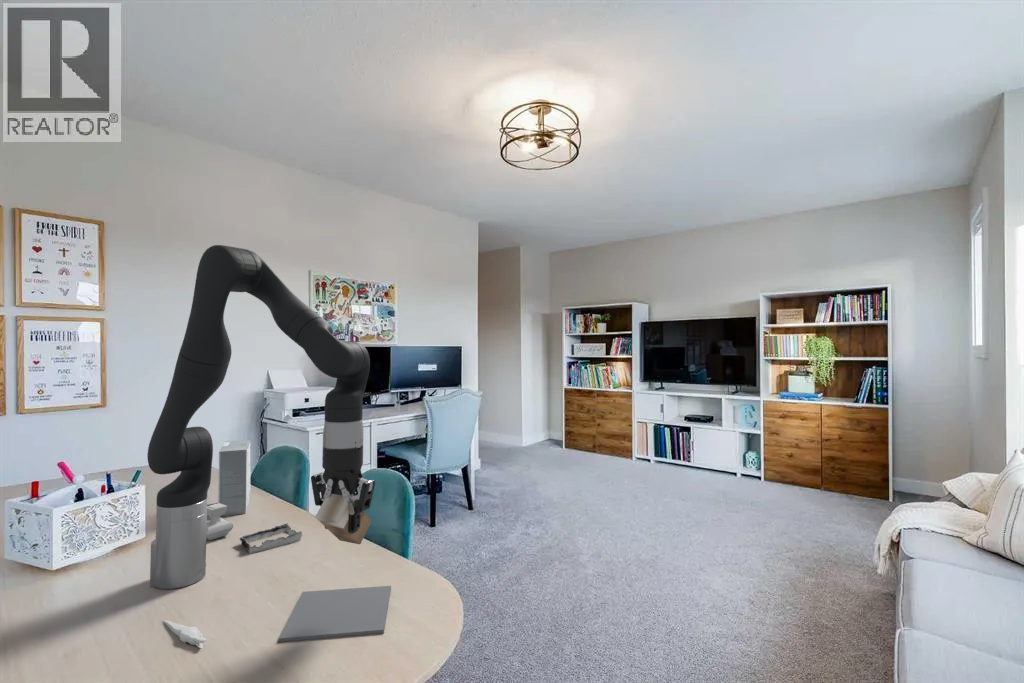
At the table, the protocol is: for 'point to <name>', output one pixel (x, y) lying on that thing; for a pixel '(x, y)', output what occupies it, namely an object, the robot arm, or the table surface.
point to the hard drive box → (234, 476)
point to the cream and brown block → (341, 519)
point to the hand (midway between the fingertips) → (341, 529)
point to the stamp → (217, 522)
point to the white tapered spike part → (187, 633)
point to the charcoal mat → (338, 613)
